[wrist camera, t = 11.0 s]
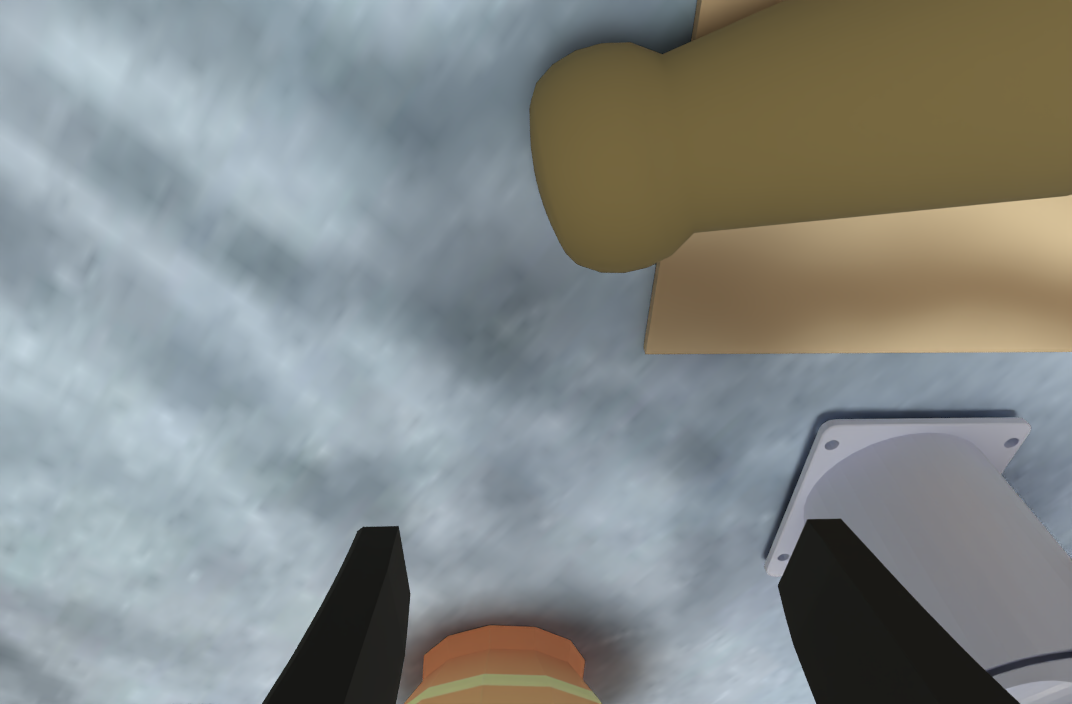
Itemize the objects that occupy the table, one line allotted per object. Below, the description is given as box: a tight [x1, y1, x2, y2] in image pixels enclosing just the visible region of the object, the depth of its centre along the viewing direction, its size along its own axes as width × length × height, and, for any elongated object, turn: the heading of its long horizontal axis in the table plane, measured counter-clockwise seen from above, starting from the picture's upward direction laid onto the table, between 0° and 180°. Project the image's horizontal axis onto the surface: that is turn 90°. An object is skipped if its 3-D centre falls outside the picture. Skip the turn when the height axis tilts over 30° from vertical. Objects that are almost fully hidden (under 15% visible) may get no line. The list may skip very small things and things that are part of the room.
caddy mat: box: [644, 0, 1072, 354], centre depth 16 cm, size 18×16×1 cm
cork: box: [530, 0, 1072, 273], centre depth 14 cm, size 6×6×11 cm
